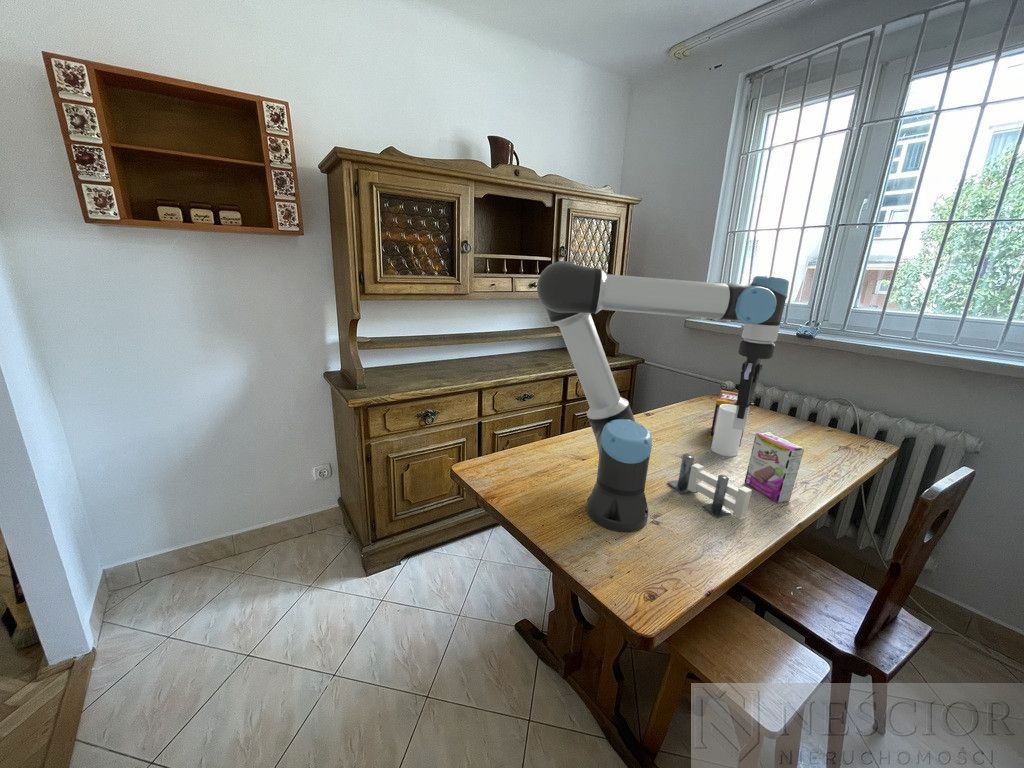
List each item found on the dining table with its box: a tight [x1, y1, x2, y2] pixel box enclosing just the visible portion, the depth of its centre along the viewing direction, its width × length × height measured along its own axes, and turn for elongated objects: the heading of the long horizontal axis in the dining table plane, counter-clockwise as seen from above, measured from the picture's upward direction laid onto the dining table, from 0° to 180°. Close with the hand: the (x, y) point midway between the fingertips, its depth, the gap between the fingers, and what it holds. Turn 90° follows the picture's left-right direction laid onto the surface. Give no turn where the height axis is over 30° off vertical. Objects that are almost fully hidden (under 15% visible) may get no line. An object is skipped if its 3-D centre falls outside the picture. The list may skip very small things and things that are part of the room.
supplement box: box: [708, 389, 744, 447], centre depth 150 cm, size 10×15×16 cm
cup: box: [710, 404, 743, 457], centre depth 137 cm, size 8×8×16 cm
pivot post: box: [667, 453, 699, 496], centre depth 114 cm, size 6×6×10 cm
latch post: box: [701, 474, 733, 519], centre depth 103 cm, size 5×5×10 cm
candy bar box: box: [744, 431, 805, 504], centre depth 112 cm, size 11×5×16 cm, turn 18°
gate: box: [687, 462, 753, 520], centre depth 106 cm, size 16×2×8 cm, turn 31°
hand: (738, 428), depth 106 cm, fingers closed
